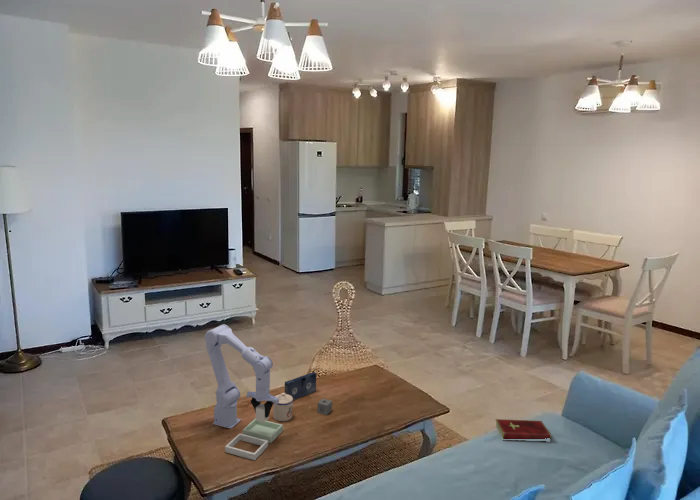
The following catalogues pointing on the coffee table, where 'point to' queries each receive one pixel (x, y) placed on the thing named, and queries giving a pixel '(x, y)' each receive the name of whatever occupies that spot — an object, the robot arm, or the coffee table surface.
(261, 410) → the cream block
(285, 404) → the teacup with lid
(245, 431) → the green bin
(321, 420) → the coffee table surface
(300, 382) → the vhs cassette tape
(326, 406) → the dice cube
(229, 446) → the bin
